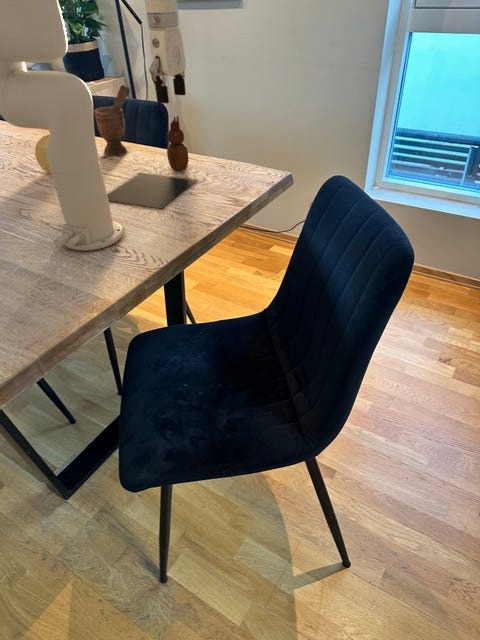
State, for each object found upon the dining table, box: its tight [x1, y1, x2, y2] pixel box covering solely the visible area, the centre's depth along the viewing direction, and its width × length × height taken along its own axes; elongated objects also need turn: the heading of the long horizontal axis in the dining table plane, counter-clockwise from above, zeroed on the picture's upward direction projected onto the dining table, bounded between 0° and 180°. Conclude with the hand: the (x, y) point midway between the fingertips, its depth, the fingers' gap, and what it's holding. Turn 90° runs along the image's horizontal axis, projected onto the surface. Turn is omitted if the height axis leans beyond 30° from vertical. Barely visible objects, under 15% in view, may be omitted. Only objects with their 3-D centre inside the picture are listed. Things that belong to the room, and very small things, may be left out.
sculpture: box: [34, 133, 51, 175], centre depth 124 cm, size 11×12×11 cm
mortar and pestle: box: [93, 84, 130, 157], centre depth 135 cm, size 12×9×20 cm
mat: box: [107, 173, 197, 210], centre depth 114 cm, size 20×18×1 cm
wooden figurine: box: [166, 115, 189, 172], centre depth 122 cm, size 7×6×15 cm
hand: (171, 98), depth 115 cm, fingers open, 9 cm apart
